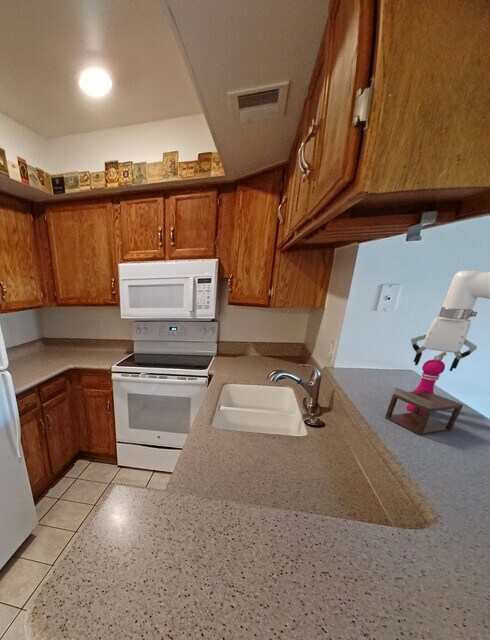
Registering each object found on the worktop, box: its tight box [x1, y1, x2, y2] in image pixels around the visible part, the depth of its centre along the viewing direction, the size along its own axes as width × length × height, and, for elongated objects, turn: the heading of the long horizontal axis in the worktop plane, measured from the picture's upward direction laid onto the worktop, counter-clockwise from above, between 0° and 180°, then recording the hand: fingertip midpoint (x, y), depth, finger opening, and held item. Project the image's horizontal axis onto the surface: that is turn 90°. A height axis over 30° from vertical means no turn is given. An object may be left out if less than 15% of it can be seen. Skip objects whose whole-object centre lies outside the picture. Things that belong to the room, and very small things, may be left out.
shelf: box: [384, 387, 464, 436], centre depth 106 cm, size 13×13×11 cm
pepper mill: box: [406, 354, 446, 415], centre depth 114 cm, size 7×7×20 cm
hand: (433, 367), depth 111 cm, fingers open, 9 cm apart
